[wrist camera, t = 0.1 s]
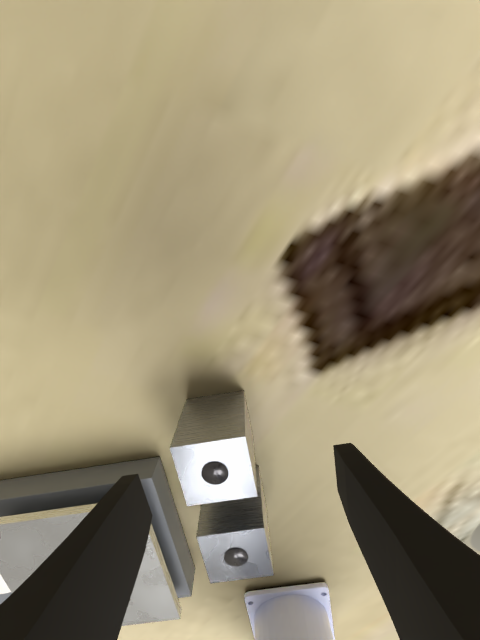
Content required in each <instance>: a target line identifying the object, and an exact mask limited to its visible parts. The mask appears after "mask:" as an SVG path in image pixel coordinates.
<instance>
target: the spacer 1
mask: <svg viewBox="0 0 480 640" xmlns="http://www.w3.org/2000/svg"><path fill="white" fill-rule="evenodd" d="M170 451H171V454H172V457H173V461H174V464H175V467H176V471H177V474H178V477H179V481H180V484H181V487H182V491H183V494H184V497H185V501H186V504H187V506H192V505H199V504H207V503H214V502H221V501H228V500H236V499H243V498H250V497H257V482H256V468H255V454H254V440H253V434H252V429H251V424H250V419H249V413H248V408H247V403H246V398H245V393H244V390H243V391H237V392H231V393H224V394H218V395H212V396H205V397H199V398H193V399H186V402H185V405H184V408H183V411H182V414H181V417H180V420H179V422H178V425H177V428H176V431H175V434H174V437H173V440H172V443H171V446H170Z"/></svg>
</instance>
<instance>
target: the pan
mask: <svg viewBox="0 0 480 640" xmlns="http://www.w3.org/2000/svg"><path fill="white" fill-rule="evenodd" d="M96 504H97V503H96ZM96 504H89V505H82V506H74V507H67V508H60V509H53V510H46V511H39V512H32V513H25V514H18V515H11V516H4V517H0V574H1V576H2V578H3V579H4V581H5V583H6V584H7V586H8V588H9V589H10V591H11V593H13V592H14V591H15V590H16V589H17V588H18V587H19V586H20V585H21V584H22V583H23V582H24V581H25V580H26V579H27V578H28V577H29V576H30V575H31V574H32V573H33V572H34V571H35V570H36V569H37V568H38V567H39V566H40V565H41V564H42V563H43V562H44V561H45V560H46V559H47V558H48V557H49V556H50V554H51V553H52V552H53V551H54V550H55V549H56V548H57V547H58V546H59V545H60V544H61V543H62V542H63V541H64V540H65V539H66V538H67V537H68V536H69V534H70V533H71V532H72V531H73V530H74V529H75V528H76V527H77V526H78V524H79V523H80V522H81V521H82V520H83V519H84V518H85V517H86V516H87V514H88V513H89V512H90V511H91V510H92V509H93V508H94V507H95V505H96ZM181 611H182V608H181V605H180V602H179V599H178V597H177V594H176V591H175V588H174V585H173V583H172V580H171V577H170V574H169V571H168V569H167V566H166V563H165V560H164V557H163V555H162V552H161V549H160V546H159V543H158V541H157V538H156V535H155V532H154V529H153V526H152V524H151V526H150V531H149V536H148V540H147V545H146V549H145V553H144V556H143V560H142V563H141V566H140V569H139V572H138V576H137V579H136V582H135V585H134V588H133V591H132V594H131V598H130V601H129V604H128V607H127V610H126V613H125V616H124V619H123V623H122V626H125V625H133V624H142V623H150V622H158V621H167V620H175V619H180V618H181Z"/></svg>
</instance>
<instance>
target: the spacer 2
mask: <svg viewBox="0 0 480 640" xmlns="http://www.w3.org/2000/svg"><path fill="white" fill-rule="evenodd" d="M255 468H256V482H257V497H250V498H243V499H236V500H228V501H221V502H214V503H207V504H201V510H200V516H199V523H198V530H197V540H198V544H199V547H200V550H201V554H202V557H203V560H204V564H205V567H206V570H207V574H208V577H209V580H210V583H217V582H225V581H233V580H241V579H249V578H257V577H265V576H273V575H274V574H273V564H272V554H271V545H270V535H269V526H268V516H267V507H266V501H265V496H264V491H263V486H262V481H261V475H260V470H259V465H258V466H255Z"/></svg>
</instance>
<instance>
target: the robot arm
mask: <svg viewBox="0 0 480 640" xmlns="http://www.w3.org/2000/svg"><path fill="white" fill-rule="evenodd" d="M334 456H335V467H336V477H337V488H338V493H339V496H340V499H341V501H342V504H343V507H344V510H345V513H346V516H347V519H348V522H349V524H350V527H351V529H352V531H353V533H354V536H355V538H356V540H357V542H358V545H359V547H360V549H361V551H362V554H363V556H364V558H365V560H366V562H367V565H368V567H369V569H370V571H371V574H372V576H373V578H374V580H375V582H376V585H377V587H378V589H379V591H380V594H381V596H382V598H383V600H384V602H385V605H386V607H387V609H388V611H389V614H390V616H391V619H392V621H393V623H394V626H395V628H396V631H397V633H398V636H399V638H400V640H480V555H479V554H477V553H476V552H475V551H473V550H472V549H471V548H469V547H468V546H467V545H465V544H464V543H463V542H461V541H460V540H459V539H458V538H456V537H455V536H454V535H452V534H451V533H450V532H449V531H447V530H446V529H445V528H444V527H442V526H441V525H440V524H439V523H438V522H436V521H435V520H434V519H433V518H432V517H430V516H429V515H428V514H427V513H426V512H424V511H423V510H422V509H421V508H420V507H418V506H417V505H416V504H415V503H414V502H413V501H412V500H410V499H409V498H408V497H407V496H406V495H405V494H404V493H403V492H402V491H400V490H399V489H398V488H397V487H396V486H395V485H394V484H393V483H392V482H391V481H390V480H388V479H387V478H386V477H385V476H384V475H383V474H382V473H381V472H380V471H379V470H378V469H377V468H376V467H375V466H374V465H373V464H372V463H371V462H370V461H369V460H368V459H367V458H366V457H365V456H364V455H363V454H362V453H361V452H360V451H359V450H358V449H357V448H356V447H355V446H354V445H353V444H351V443H347V444H340V445H334ZM152 516H153V515H152V512H151V510H150V507H149V504H148V501H147V498H146V495H145V492H144V489H143V486H142V484H141V481H140V478H139V475H138V474H132V475H125V476H122V477H121V478H120V479H119V480H118V481H117V482H116V483H115V484H114V485H113V486H112V487H111V489H110V490H109V491H108V492H107V493H106V494H105V495H104V496H103V498H102V499H101V500H100V501H99V502H98V503H97V504H96V505H95V507H94V508H93V509H92V510H91V511H90V512H89V513H88V514H87V516H86V517H85V518H84V519H83V520H82V521H81V522H80V523H79V524H78V526H77V527H76V528H75V529H74V530H73V531H72V532H71V533H70V534H69V536H68V537H67V538H66V539H65V540H64V541H63V542H62V543H61V544H60V545H59V546H58V547H57V548H56V549H55V550H54V551H53V552H52V553H51V554H50V556H49V557H48V558H47V559H46V560H45V561H44V562H43V563H42V564H41V565H40V566H39V567H38V568H37V569H36V570H35V571H34V572H33V573H32V574H31V575H30V576H29V577H28V578H27V579H26V580H25V581H24V582H23V583H22V584H21V585H20V586H19V587H18V588H17V589H16V590H15V591H14V592H13V593H12V594H11V595H10V596H9V597H8V598H7V599H6V600H5V601H4V602H3V603H2V604H0V640H117V638H118V635H119V632H120V629H121V626H122V623H123V619H124V616H125V613H126V610H127V607H128V604H129V601H130V598H131V594H132V591H133V588H134V585H135V582H136V579H137V576H138V572H139V569H140V566H141V563H142V560H143V556H144V553H145V549H146V545H147V540H148V536H149V531H150V526H151V521H152ZM244 600H245V604H246V608H247V612H248V615H249V619H250V623H251V627H252V631H253V635H254V639H255V640H335V637H334V629H333V621H332V613H331V605H330V597H329V589H328V585H327V584H326V583H324V582H319V583H311V584H303V585H295V586H287V587H279V588H271V589H262V590H254V591H248V592H246V593H245V594H244Z"/></svg>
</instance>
